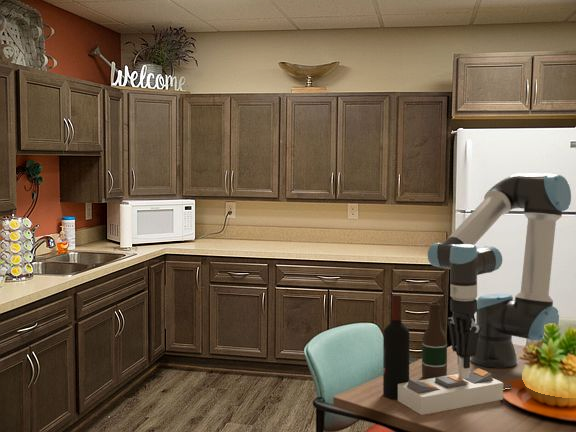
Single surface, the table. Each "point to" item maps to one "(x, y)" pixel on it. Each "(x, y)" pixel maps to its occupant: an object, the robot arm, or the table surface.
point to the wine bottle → (395, 352)
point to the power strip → (450, 395)
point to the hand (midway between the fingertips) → (463, 377)
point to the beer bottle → (434, 346)
